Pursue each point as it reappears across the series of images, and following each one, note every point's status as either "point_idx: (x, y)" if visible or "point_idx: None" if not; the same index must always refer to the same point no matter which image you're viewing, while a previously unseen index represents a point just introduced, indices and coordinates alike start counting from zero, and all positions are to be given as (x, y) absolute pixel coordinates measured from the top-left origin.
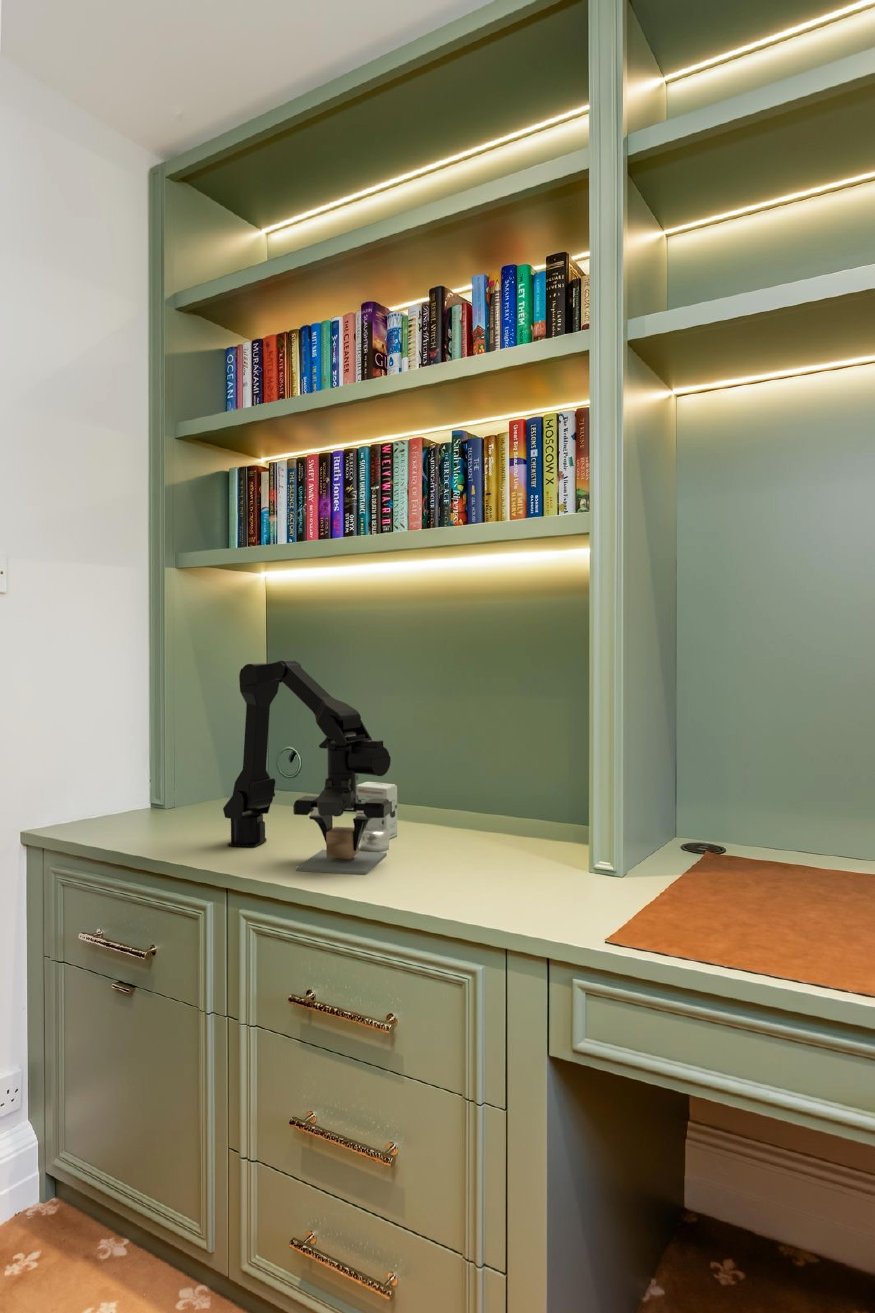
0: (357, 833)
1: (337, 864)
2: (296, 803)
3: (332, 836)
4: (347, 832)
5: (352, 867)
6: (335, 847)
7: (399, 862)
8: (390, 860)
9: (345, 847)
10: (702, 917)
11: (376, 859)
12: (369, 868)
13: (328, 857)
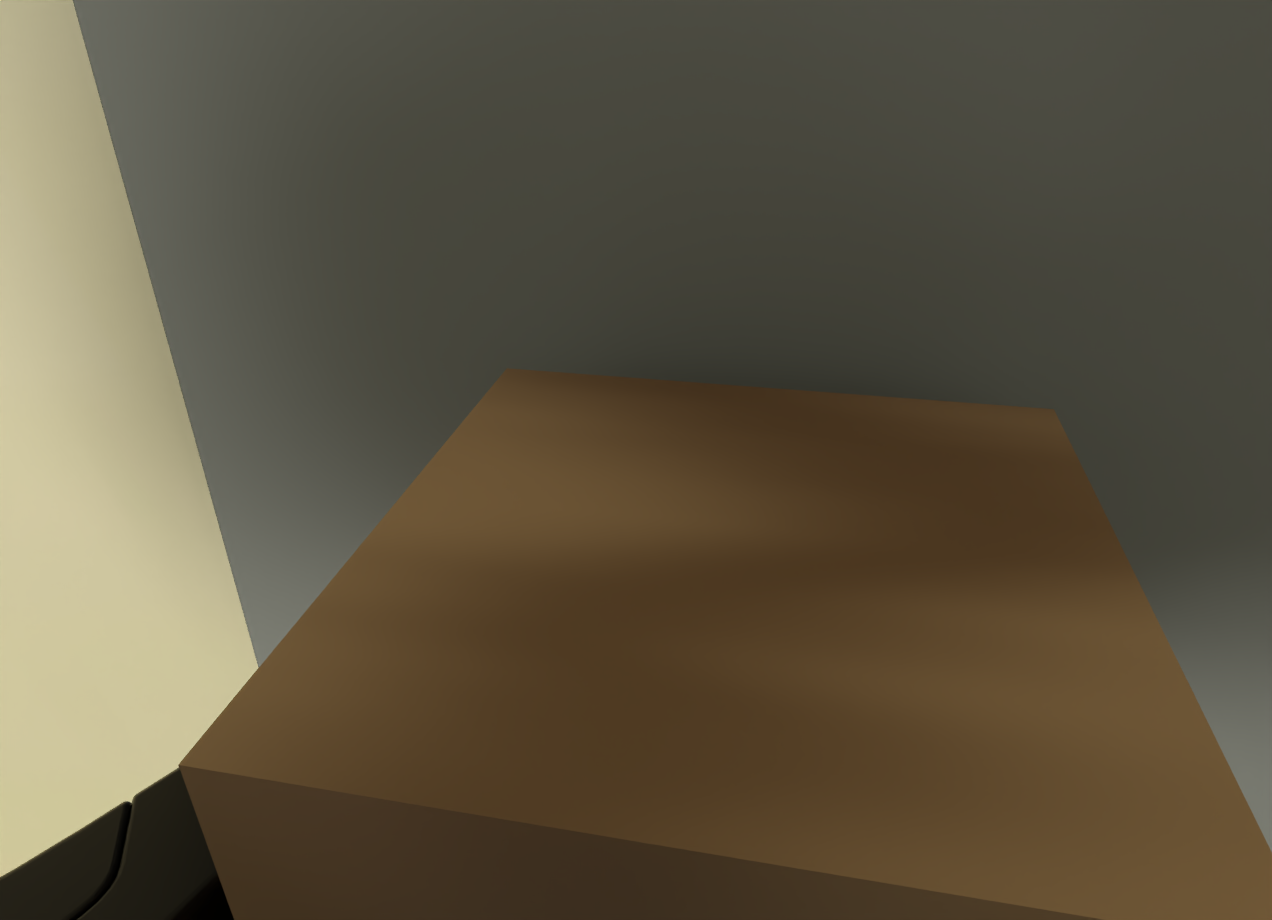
0: (110, 856)
1: (769, 263)
2: None
3: (955, 759)
4: (359, 881)
5: (400, 84)
6: (832, 516)
7: (46, 587)
8: (188, 659)
9: (545, 490)
10: None
11: (269, 593)
12: (106, 102)
13: (1004, 406)
